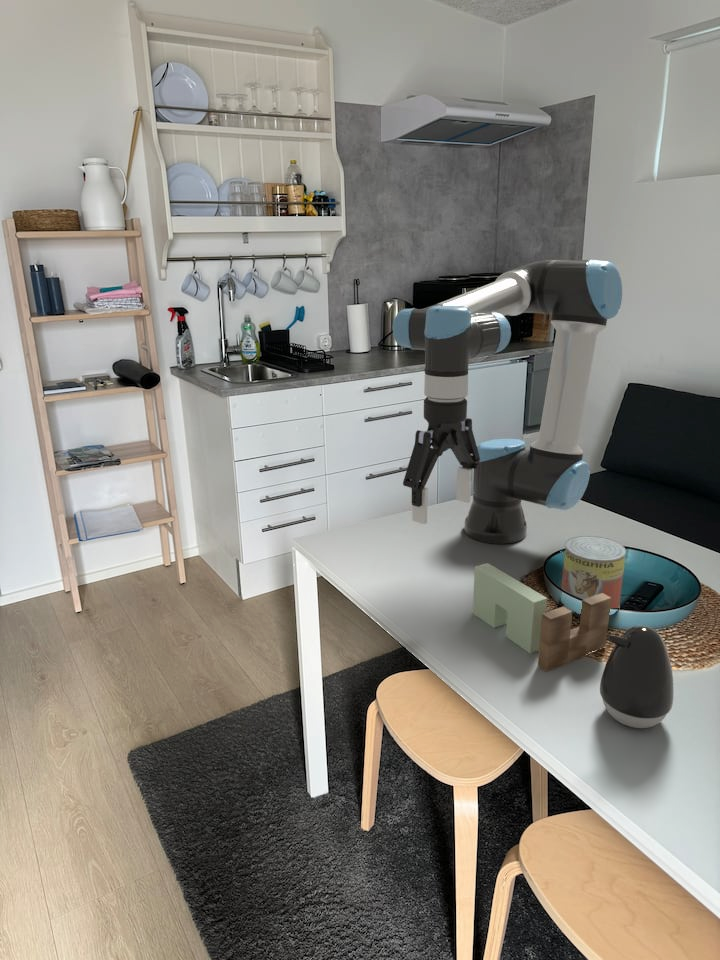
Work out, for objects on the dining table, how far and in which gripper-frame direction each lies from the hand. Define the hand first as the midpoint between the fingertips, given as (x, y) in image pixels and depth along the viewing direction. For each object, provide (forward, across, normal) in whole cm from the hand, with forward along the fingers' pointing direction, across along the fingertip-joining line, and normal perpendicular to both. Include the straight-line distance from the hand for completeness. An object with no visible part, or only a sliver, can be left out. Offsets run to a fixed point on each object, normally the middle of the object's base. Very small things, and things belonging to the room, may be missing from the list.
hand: (442, 511), depth 127 cm
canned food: (+22, -23, +20) cm, 37 cm away
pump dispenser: (+21, +6, +40) cm, 46 cm away
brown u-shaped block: (+21, -3, +26) cm, 34 cm away
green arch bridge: (+21, -3, +13) cm, 25 cm away
